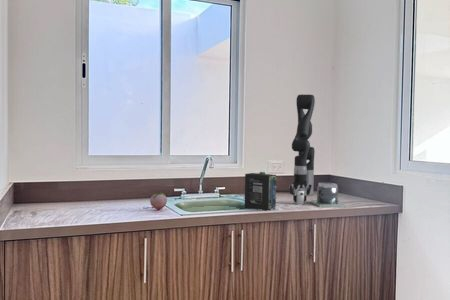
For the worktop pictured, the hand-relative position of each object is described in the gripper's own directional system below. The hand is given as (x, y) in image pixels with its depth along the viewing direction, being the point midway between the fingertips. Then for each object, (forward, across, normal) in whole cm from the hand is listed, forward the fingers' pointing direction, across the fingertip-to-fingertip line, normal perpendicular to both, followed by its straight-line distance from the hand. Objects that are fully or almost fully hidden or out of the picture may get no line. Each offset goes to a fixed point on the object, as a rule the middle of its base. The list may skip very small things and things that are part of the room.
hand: (299, 201), depth 227 cm
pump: (+1, 0, 0) cm, 1 cm away
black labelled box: (+2, +27, +11) cm, 29 cm away
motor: (+1, -16, +3) cm, 16 cm away
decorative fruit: (+2, +83, +13) cm, 84 cm away
